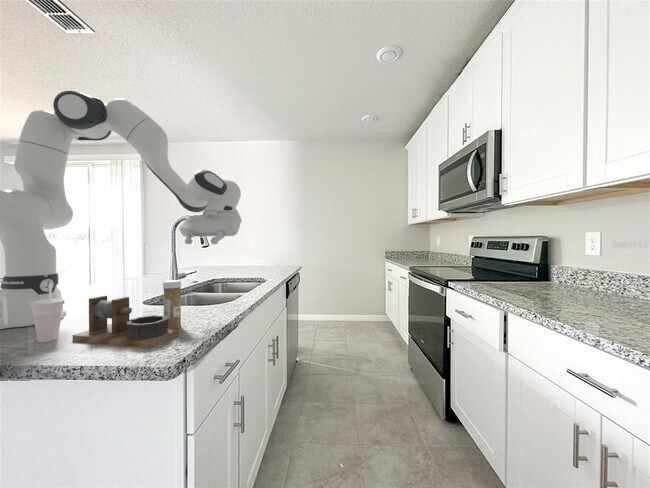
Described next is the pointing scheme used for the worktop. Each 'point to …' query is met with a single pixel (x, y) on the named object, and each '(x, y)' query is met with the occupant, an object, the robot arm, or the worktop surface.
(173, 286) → the pill bottle
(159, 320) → the winch stand
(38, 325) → the smoothie
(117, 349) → the worktop surface
